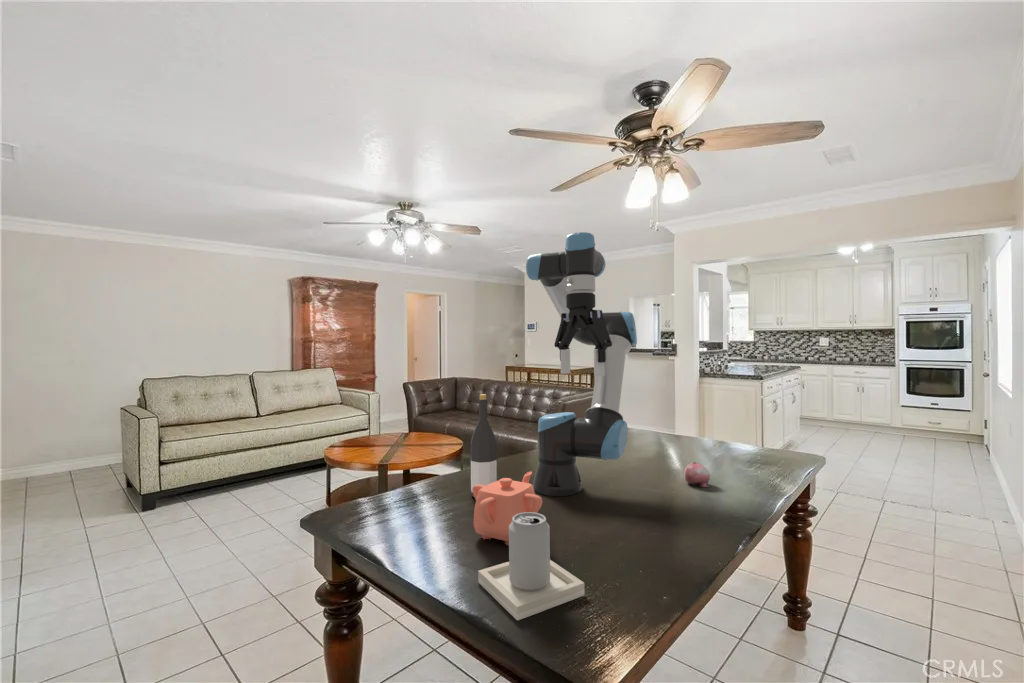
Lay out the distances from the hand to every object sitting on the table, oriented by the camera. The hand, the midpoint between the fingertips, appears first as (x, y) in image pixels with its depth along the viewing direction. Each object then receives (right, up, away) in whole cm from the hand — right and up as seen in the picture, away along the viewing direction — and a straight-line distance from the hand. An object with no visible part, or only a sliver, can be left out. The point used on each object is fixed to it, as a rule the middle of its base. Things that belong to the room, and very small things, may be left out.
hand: (581, 374), depth 118 cm
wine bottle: (-27, -37, +17) cm, 49 cm away
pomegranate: (+40, -37, +25) cm, 60 cm away
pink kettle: (-19, -37, -11) cm, 43 cm away
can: (-15, -36, -35) cm, 52 cm away
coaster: (-15, -37, -35) cm, 53 cm away
